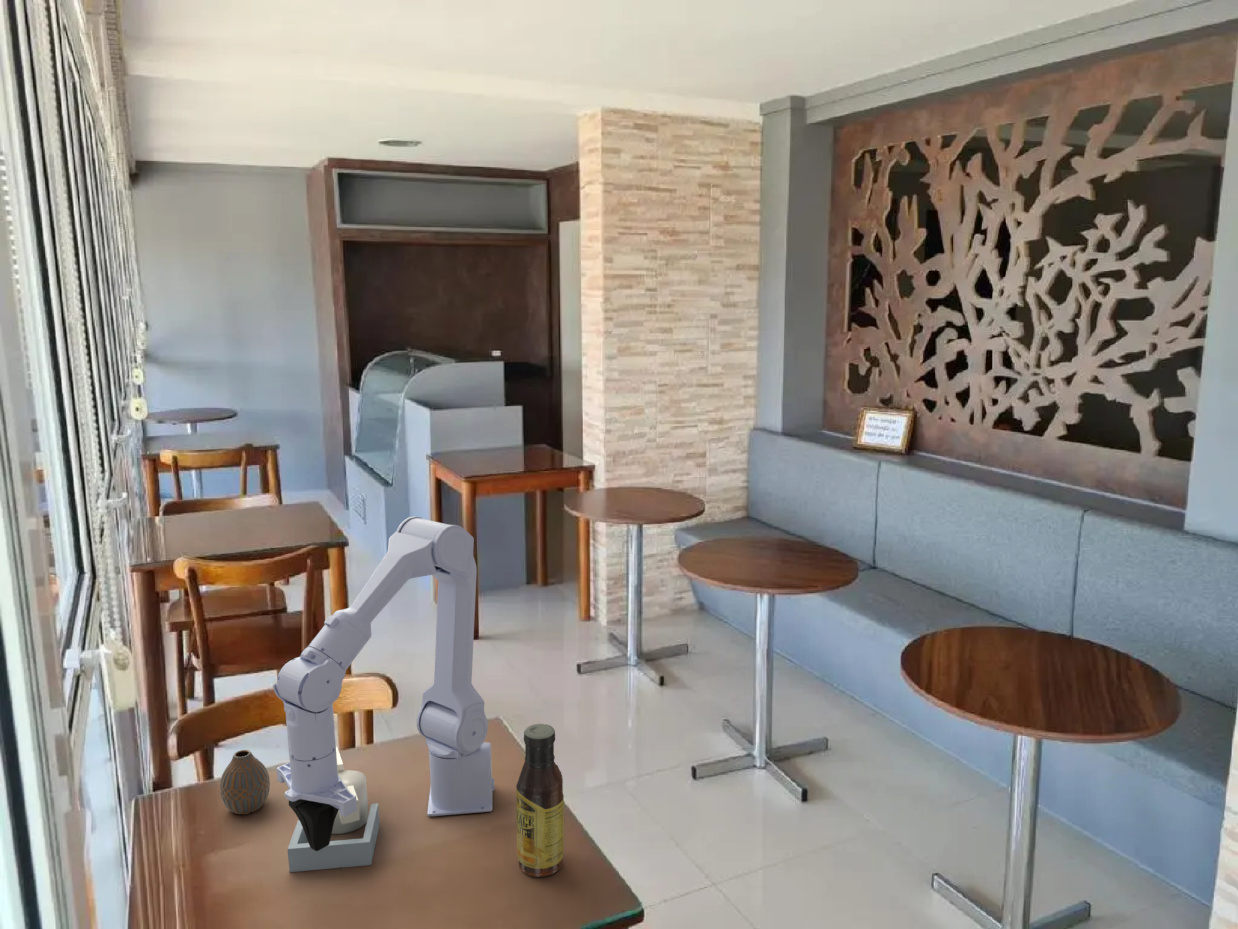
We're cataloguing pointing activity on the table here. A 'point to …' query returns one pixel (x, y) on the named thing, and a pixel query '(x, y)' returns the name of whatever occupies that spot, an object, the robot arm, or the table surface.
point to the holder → (334, 848)
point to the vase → (244, 783)
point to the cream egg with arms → (358, 788)
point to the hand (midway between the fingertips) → (320, 846)
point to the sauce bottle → (540, 805)
